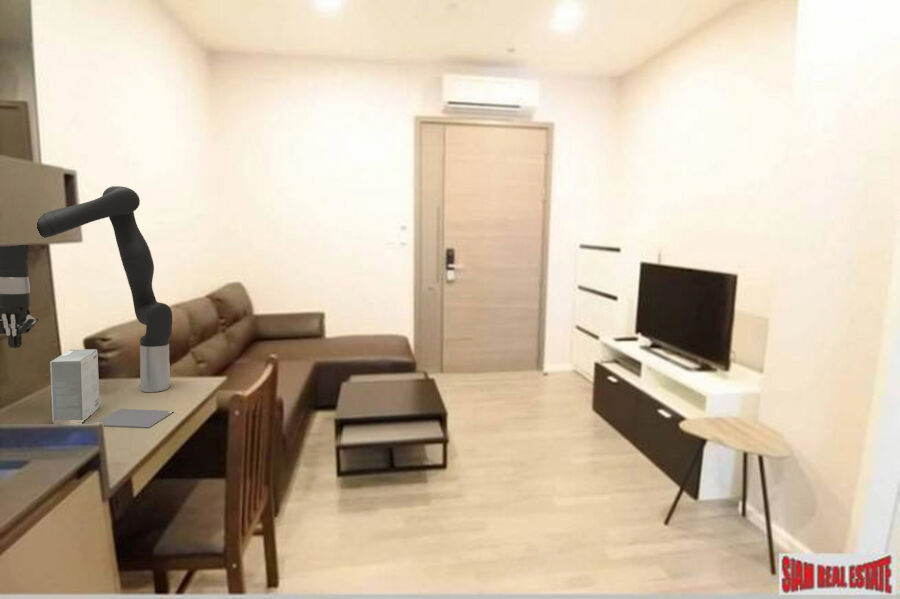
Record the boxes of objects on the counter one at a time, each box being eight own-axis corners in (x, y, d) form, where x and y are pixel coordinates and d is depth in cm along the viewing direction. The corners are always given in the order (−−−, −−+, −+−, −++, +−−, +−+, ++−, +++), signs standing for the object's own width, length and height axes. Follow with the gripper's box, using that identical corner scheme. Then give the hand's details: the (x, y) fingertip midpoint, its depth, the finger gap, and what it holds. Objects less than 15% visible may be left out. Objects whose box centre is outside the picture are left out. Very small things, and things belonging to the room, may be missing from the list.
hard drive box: (72, 408, 153) (70, 349, 151) (100, 407, 156) (99, 348, 154) (51, 426, 139) (49, 360, 137) (82, 424, 141) (81, 360, 139)
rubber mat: (121, 409, 155) (121, 408, 155) (174, 412, 156) (174, 410, 156) (91, 425, 141) (91, 424, 141) (149, 428, 142) (149, 426, 142)
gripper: (46, 291, 146) (47, 346, 148) (1, 289, 146) (3, 343, 147) (25, 294, 139) (27, 351, 141) (-22, 291, 138) (-20, 348, 140)
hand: (15, 347), depth 144 cm, fingers closed
